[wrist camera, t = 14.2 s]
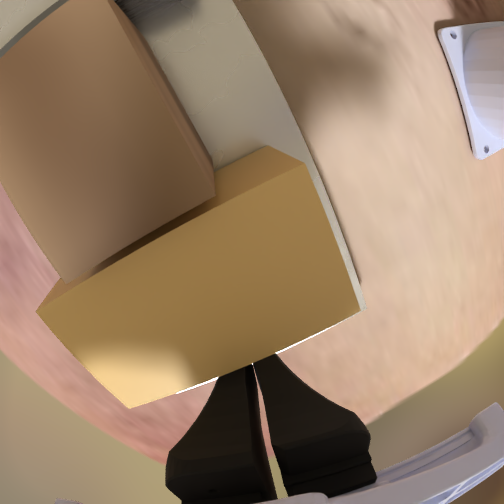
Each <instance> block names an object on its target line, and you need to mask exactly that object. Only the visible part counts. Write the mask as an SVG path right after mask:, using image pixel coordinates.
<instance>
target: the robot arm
mask: <svg viewBox="0 0 504 504" xmlns="http://www.w3.org/2000/svg"><path fill="white" fill-rule="evenodd" d="M450 33H451V34H452V37H451V35H450ZM438 37H439V40H440V42H441V45H442V47H443V50H444V53H445V55H446V58H447V61H448V63H449V66H450V69H451V72H452V75H453V78H454V81H455V84H456V87H457V90H458V94H459V97H460V100H461V104H462V107H463V111H464V115H465V119H466V123H467V127H468V131H469V136H470V140H471V145H472V150H473V154H474V156H475V158H477V159H480V160H482V159H484V158H486V157H488V156H490V155H492V154H493V153H495V152H497V151H499V150H500V149H502V148H504V21H497V22H485V23H475V24H467V25H459V26H452V27H445V28H441V29H439V30H438ZM484 147H485V150H484ZM253 366H254V368H253ZM254 369H255V373H256V376H257V380H258V383H259V386H260V389H261V392H262V395H263V400H264V405H265V411H266V416H267V421H268V427H269V433H270V439H271V445H272V447H273V450H274V453H275V456H276V459H277V462H278V465H279V468H280V470H281V475H282V479H283V484H284V487H285V489H286V491H287V494H288V497H286V498H282V499H278V498H277V494H276V490H275V486H274V482H273V478H272V473H271V469H270V465H269V461H268V456H267V452H266V447H265V443H264V438H263V433H262V427H261V418H260V408H259V398H258V389H257V382H256V377H255V373H254ZM370 440H371V439H370V433H369V431H368V430H367V428H366V427H365V425H364V424H363V422H362V421H361V420H360V419H359V417H358V416H357V415H356V414H355V413H354V412H352V411H350V410H348V409H345V408H343V407H341V406H339V405H337V404H336V403H334V402H332V401H330V400H328V399H327V398H325V397H324V396H322V395H321V394H319V393H318V392H316V391H315V390H313V389H312V388H311V387H309V386H308V385H307V384H306V383H304V382H303V381H302V380H301V379H300V378H298V377H297V376H296V375H295V374H294V373H293V372H292V371H291V370H290V369H289V368H288V367H287V366H286V365H285V364H284V363H283V361H282V360H281V359H280V358H279V357H278V355H277V354H276V353H274V354H272V355H270V356H268V357H265V358H263V359H261V360H259V361H256V362H254V363H253V364H249V365H247V366H245V367H242V368H240V369H237V370H235V371H233V372H230V373H228V374H225V375H223V376H220V377H218V379H217V381H216V384H215V386H214V389H213V391H212V393H211V395H210V397H209V399H208V401H207V403H206V405H205V406H204V408H203V410H202V411H201V413H200V415H199V416H198V418H197V419H196V421H195V422H194V423H193V425H192V426H191V427H190V429H189V430H188V431H187V433H186V434H185V435H184V436H183V437H182V439H181V440H180V441H179V442H178V443H177V444H176V445H175V446H174V447H173V448H172V449H171V450H170V451H169V454H168V458H167V464H166V478H165V479H166V480H165V481H166V487H167V488H168V489H169V490H170V491H171V492H172V493H173V494H175V495H176V496H177V497H178V498H180V500H181V501H182V504H448V503H450V502H451V501H453V500H455V499H456V498H458V497H459V496H461V495H462V494H464V493H465V492H467V491H468V490H470V489H471V488H473V487H474V486H476V485H477V484H479V483H480V482H482V481H483V480H484V479H486V478H487V477H488V476H490V475H491V474H493V473H494V472H496V471H497V470H498V469H500V468H501V467H502V466H503V465H504V411H503V409H502V408H501V407H500V405H499V404H498V403H497V402H495V403H493V404H492V405H490V406H489V407H487V408H486V409H484V410H483V411H481V412H480V413H478V414H477V415H476V416H475V417H474V418H473V419H472V421H471V422H470V425H469V427H467V428H466V429H464V430H462V431H460V432H459V433H457V434H455V435H454V436H452V437H450V438H448V439H446V440H444V441H443V442H441V443H439V444H437V445H435V446H433V447H431V448H429V449H427V450H425V451H423V452H421V453H419V454H417V455H415V456H413V457H411V458H409V459H406V460H404V461H402V462H399V463H397V464H395V465H392V466H390V467H388V468H385V469H383V470H380V471H378V472H375V470H374V468H373V466H372V463H371V460H372V459H371V456H370V454H369V452H368V449H369V444H370ZM55 504H82V503H80V502H77V501H73V500H67V499H61V498H56V501H55Z"/></svg>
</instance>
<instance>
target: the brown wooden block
mask: <svg viewBox="0 0 504 504" xmlns="http://www.w3.org/2000/svg"><path fill="white" fill-rule="evenodd" d="M0 182H1V184H2V186H3V188H4V189H5V191H6V193H7V195H8V197H9V198H10V200H11V202H12V204H13V205H14V207H15V209H16V211H17V212H18V214H19V216H20V217H21V219H22V221H23V222H24V224H25V225H26V227H27V229H28V230H29V232H30V233H31V235H32V236H33V238H34V240H35V241H36V243H37V244H38V246H39V247H40V249H41V250H42V252H43V253H44V254H45V256H46V257H47V259H48V260H49V262H50V263H51V264H52V266H53V267H54V269H55V270H56V271H57V273H58V274H59V276H60V277H61V278H62V280H63V281H64V282H65V284H68V283H69V282H71V281H72V280H74V279H75V278H77V277H79V276H80V275H82V274H83V273H85V272H86V271H88V270H89V269H91V268H93V267H94V266H96V265H97V264H99V263H101V262H102V261H104V260H105V259H107V258H109V257H110V256H112V255H113V254H115V253H117V252H118V251H120V250H122V249H123V248H125V247H127V246H128V245H130V244H132V243H133V242H135V241H137V240H138V239H140V238H142V237H143V236H145V235H147V234H148V233H150V232H152V231H154V230H155V229H157V228H159V227H161V226H162V225H164V224H166V223H167V222H169V221H171V220H173V219H175V218H176V217H178V216H180V215H182V214H183V213H185V212H187V211H189V210H191V209H192V208H194V207H196V206H198V205H200V204H202V203H203V202H205V201H207V200H209V199H211V198H213V197H214V196H216V191H215V180H214V169H213V160H212V158H211V156H210V154H209V153H208V151H207V149H206V147H205V145H204V143H203V142H202V140H201V138H200V136H199V134H198V133H197V131H196V129H195V127H194V125H193V123H192V122H191V120H190V118H189V116H188V114H187V113H186V111H185V109H184V107H183V105H182V104H181V102H180V100H179V98H178V96H177V95H176V93H175V91H174V89H173V87H172V86H171V84H170V82H169V80H168V78H167V77H166V75H165V73H164V71H163V69H162V68H161V66H160V64H159V62H158V61H157V59H156V57H155V55H154V53H153V52H152V50H151V48H150V46H149V44H148V43H147V41H146V39H145V37H144V36H143V35H142V34H141V33H140V31H139V30H138V29H137V28H136V27H135V25H134V24H133V23H132V22H131V21H130V19H129V18H128V17H127V16H126V15H125V13H124V12H123V11H122V10H121V9H120V8H119V6H118V5H117V4H116V3H115V2H114V1H113V0H69V1H67V2H66V3H64V4H63V5H62V6H60V7H59V8H58V9H56V10H55V11H54V12H52V13H51V14H50V15H49V16H47V17H46V18H45V19H43V20H42V21H41V22H40V23H39V24H37V25H36V26H35V27H34V28H33V29H31V30H30V31H29V32H28V33H27V34H26V35H25V36H23V37H22V38H21V39H20V40H19V41H18V42H17V43H16V44H15V45H14V46H13V47H11V48H10V49H9V50H8V51H7V52H6V53H5V54H4V55H3V56H2V57H1V58H0Z"/></svg>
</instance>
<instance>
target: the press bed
mask: <svg viewBox="0 0 504 504" xmlns="http://www.w3.org/2000/svg"><path fill="white" fill-rule="evenodd" d="M67 1H69V0H0V58H1V57H2V56H3V55H4V54H5V53H6V52H7V51H8V50H9V49H10V48H11V47H13V46H14V45H15V44H16V43H17V42H18V41H19V40H20V39H21V38H22V37H23V36H25V35H26V34H27V33H28V32H29V31H30V30H31V29H33V28H34V27H35V26H36V25H37V24H39V23H40V22H41V21H42V20H43V19H45V18H46V17H47V16H49V15H50V14H51V13H52V12H54V11H55V10H56V9H58V8H59V7H60V6H62V5H63V4H64V3H66V2H67ZM113 1H114V2H115V3H116V4H117V5H118V6H119V8H120V9H121V10H122V11H123V12H124V13H125V15H126V16H127V17H128V18H129V19H130V21H131V22H132V23H133V24H134V25H135V27H136V28H137V29H138V30H139V31H140V33H141V34H142V35H143V36H144V37H145V39H146V41H147V43H148V44H149V46H150V48H151V50H152V52H153V53H154V55H155V57H156V59H157V61H158V62H159V64H160V66H161V68H162V69H163V71H164V73H165V75H166V77H167V78H168V80H169V82H170V84H171V86H172V87H173V89H174V91H175V93H176V95H177V96H178V98H179V100H180V102H181V104H182V105H183V107H184V109H185V111H186V113H187V114H188V116H189V118H190V120H191V122H192V123H193V125H194V127H195V129H196V131H197V133H198V134H199V136H200V138H201V140H202V142H203V143H204V145H205V147H206V149H207V151H208V153H209V154H210V156H211V158H212V160H213V169H214V172H215V171H217V170H219V169H221V168H223V167H225V166H227V165H229V164H231V163H233V162H235V161H237V160H239V159H241V158H243V157H245V156H247V155H249V154H251V153H253V152H255V151H257V150H259V149H262V148H264V147H266V146H271V147H273V148H275V149H277V150H279V151H281V152H283V153H285V154H287V155H289V156H291V157H294V158H296V159H298V160H300V161H302V162H304V163H305V164H306V167H307V169H308V171H309V174H310V176H311V178H312V181H313V183H314V186H315V188H316V190H317V193H318V195H319V198H320V200H321V203H322V205H323V208H324V210H325V213H326V215H327V218H328V220H329V223H330V225H331V228H332V231H333V233H334V236H335V238H336V241H337V244H338V246H339V249H340V252H341V255H342V257H343V260H344V263H345V266H346V268H347V271H348V274H349V277H350V280H351V283H352V286H353V288H354V291H355V294H356V297H357V300H358V303H359V306H360V309H361V311H360V312H362V311H364V310H365V309H367V306H366V303H365V300H364V297H363V294H362V290H361V287H360V284H359V281H358V278H357V275H356V272H355V269H354V266H353V263H352V260H351V257H350V255H349V252H348V249H347V246H346V243H345V240H344V238H343V235H342V232H341V229H340V227H339V224H338V221H337V219H336V216H335V213H334V211H333V208H332V206H331V203H330V200H329V198H328V195H327V193H326V190H325V188H324V185H323V183H322V180H321V178H320V176H319V173H318V171H317V168H316V166H315V164H314V161H313V159H312V157H311V154H310V152H309V150H308V147H307V145H306V143H305V140H304V138H303V136H302V134H301V132H300V129H299V127H298V125H297V123H296V121H295V118H294V116H293V114H292V112H291V110H290V108H289V106H288V104H287V101H286V99H285V97H284V95H283V93H282V91H281V89H280V87H279V85H278V83H277V81H276V79H275V77H274V75H273V73H272V71H271V69H270V67H269V65H268V63H267V61H266V59H265V58H264V56H263V54H262V52H261V50H260V48H259V46H258V44H257V43H256V41H255V39H254V37H253V35H252V34H251V32H250V30H249V28H248V26H247V25H246V23H245V21H244V19H243V18H242V16H241V14H240V12H239V11H238V9H237V7H236V6H235V4H234V2H233V1H232V0H113ZM360 312H358V313H360ZM358 313H356V314H358ZM356 314H354V315H356ZM354 315H352V316H354ZM352 316H350V317H352ZM350 317H349V318H350ZM349 318H347V319H349ZM347 319H345V320H347ZM345 320H343V321H345ZM343 321H341V322H343ZM341 322H339V323H341ZM339 323H337V324H339ZM337 324H335V325H337ZM335 325H333V326H335ZM333 326H331V327H333ZM331 327H329V328H331ZM329 328H327V329H329ZM327 329H325V330H327ZM325 330H323V331H325ZM323 331H321V332H323ZM321 332H319V333H321ZM319 333H317V334H319ZM317 334H315V335H317ZM315 335H313V336H315ZM313 336H311V337H313ZM311 337H309V338H311ZM309 338H307V339H309ZM307 339H305V340H307ZM305 340H303V341H305ZM303 341H300V342H303ZM300 342H298V343H300ZM298 343H296V344H298ZM296 344H294V345H296ZM294 345H292V346H294ZM292 346H290V347H292ZM290 347H288V348H290ZM288 348H285V349H288ZM285 349H283V350H285ZM283 350H281V351H283ZM281 351H279V352H281ZM279 352H277V353H279ZM277 353H276V354H277ZM252 364H253V363H252ZM215 379H217V378H215ZM215 379H212V380H215ZM212 380H210V381H212ZM210 381H207V382H210ZM207 382H205V383H207ZM205 383H202V384H205ZM202 384H199V385H202ZM199 385H197V386H199ZM197 386H194V387H197ZM194 387H191V388H194ZM191 388H189V389H191ZM186 390H188V389H186ZM186 390H183V391H186ZM183 391H180V392H183ZM180 392H178V393H180Z"/></svg>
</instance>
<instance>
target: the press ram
mask: <svg viewBox="0 0 504 504" xmlns="http://www.w3.org/2000/svg"><path fill="white" fill-rule="evenodd" d="M214 180H215V191H216V196H214V197H213V198H211V199H209V200H207V201H205V202H203V203H202V204H200V205H198V206H196V207H194V208H192V209H191V210H189V211H187V212H185V213H183V214H182V215H180V216H178V217H176V218H175V219H173V220H171V221H169V222H167V223H166V224H164V225H162V226H161V227H159V228H157V229H155V230H154V231H152V232H150V233H148V234H147V235H145V236H143V237H142V238H140V239H138V240H137V241H135V242H133V243H132V244H130V245H128V246H127V247H125V248H123V249H122V250H120V251H118V252H117V253H115V254H113V255H112V256H110V257H109V258H107V259H105V260H104V261H102V262H101V263H99V264H97V265H96V266H94V267H93V268H91V269H89V270H88V271H86V272H85V273H83V274H82V275H80V276H79V277H77V278H75V279H74V280H72V281H71V282H69V283H68V284H65V282H64V281H63V280H62V278H60V279H59V280H58V282H57V283H56V284H55V286H54V287H53V288H52V290H51V291H50V292H49V294H48V295H47V296H46V298H45V299H44V301H43V302H42V303H41V305H40V306H39V308H38V309H37V310H36V313H37V314H38V315H39V316H40V318H41V319H42V320H43V321H44V323H45V324H46V325H47V326H48V327H49V329H50V330H51V331H52V332H53V333H54V334H55V336H56V337H57V338H58V339H59V340H60V341H61V342H62V343H63V345H64V346H65V347H66V348H67V349H68V350H69V351H70V352H71V353H72V354H73V356H74V357H75V358H76V359H77V360H78V361H79V362H80V363H81V364H82V365H83V366H84V367H85V368H86V369H87V370H88V371H89V372H90V373H91V374H92V375H93V376H94V377H95V378H96V379H97V380H98V381H99V382H100V383H101V384H102V385H103V386H104V387H105V388H106V389H107V390H109V391H110V392H111V393H112V394H113V395H114V396H115V397H116V398H117V399H118V400H119V401H121V402H122V403H123V404H124V405H125V406H126V407H127V408H129V409H130V408H133V407H136V406H139V405H142V404H145V403H149V402H152V401H155V400H158V399H160V398H163V397H166V396H169V395H172V394H175V393H178V392H180V391H183V390H186V389H189V388H191V387H194V386H197V385H199V384H202V383H205V382H207V381H210V380H212V379H215V378H218V377H220V376H223V375H225V374H228V373H230V372H233V371H235V370H237V369H240V368H242V367H245V366H247V365H249V364H252V363H254V362H256V361H259V360H261V359H263V358H265V357H268V356H270V355H272V354H274V353H277V352H279V351H281V350H283V349H285V348H288V347H290V346H292V345H294V344H296V343H298V342H300V341H303V340H305V339H307V338H309V337H311V336H313V335H315V334H317V333H319V332H321V331H323V330H325V329H327V328H329V327H331V326H333V325H335V324H337V323H339V322H341V321H343V320H345V319H347V318H349V317H350V316H352V315H354V314H356V313H358V312H360V311H361V309H360V306H359V303H358V300H357V297H356V294H355V291H354V288H353V286H352V283H351V280H350V277H349V274H348V271H347V268H346V266H345V263H344V260H343V257H342V255H341V252H340V249H339V246H338V244H337V241H336V238H335V236H334V233H333V231H332V228H331V225H330V223H329V220H328V218H327V215H326V213H325V210H324V208H323V205H322V203H321V200H320V198H319V195H318V193H317V190H316V188H315V186H314V183H313V181H312V178H311V176H310V174H309V171H308V169H307V167H306V164H305V163H304V162H302V161H300V160H298V159H296V158H294V157H291V156H289V155H287V154H285V153H283V152H281V151H279V150H277V149H275V148H273V147H271V146H266V147H264V148H262V149H259V150H257V151H255V152H253V153H251V154H249V155H247V156H245V157H243V158H241V159H239V160H237V161H235V162H233V163H231V164H229V165H227V166H225V167H223V168H221V169H219V170H217V171H215V172H214Z"/></svg>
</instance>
